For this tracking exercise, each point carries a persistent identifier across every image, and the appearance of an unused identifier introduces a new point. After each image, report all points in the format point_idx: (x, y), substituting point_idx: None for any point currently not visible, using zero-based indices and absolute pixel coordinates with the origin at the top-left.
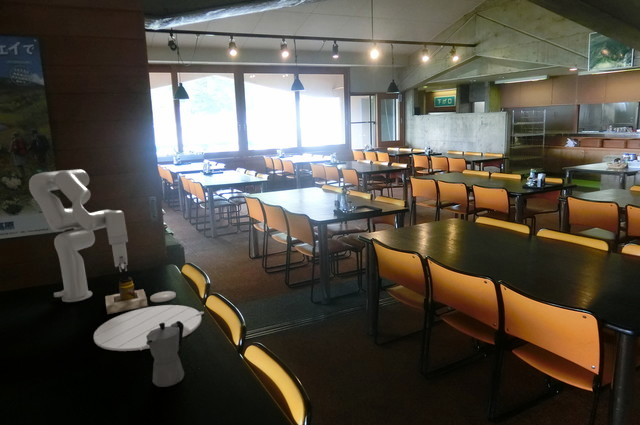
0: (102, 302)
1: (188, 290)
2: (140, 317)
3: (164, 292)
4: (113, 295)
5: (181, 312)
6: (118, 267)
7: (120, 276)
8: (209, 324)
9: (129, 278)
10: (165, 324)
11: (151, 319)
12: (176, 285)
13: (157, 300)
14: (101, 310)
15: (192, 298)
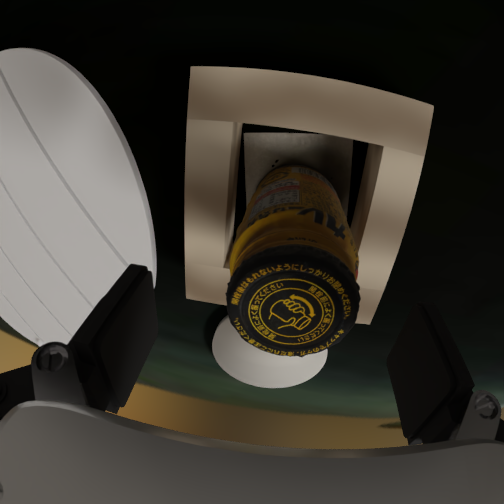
0: (449, 94)
1: (282, 411)
2: (56, 215)
3: (306, 367)
4: (408, 153)
5: (67, 328)
6: (458, 380)
7: (105, 298)
8: (10, 331)
9: (282, 342)
10: (1, 265)
11: (32, 244)
12: (375, 401)
13: (222, 323)
14: (306, 48)
15: (188, 393)
